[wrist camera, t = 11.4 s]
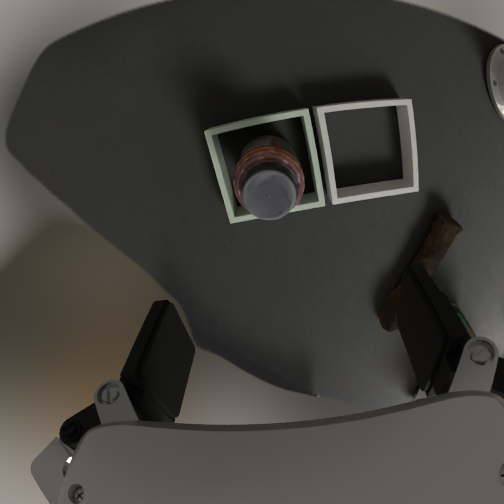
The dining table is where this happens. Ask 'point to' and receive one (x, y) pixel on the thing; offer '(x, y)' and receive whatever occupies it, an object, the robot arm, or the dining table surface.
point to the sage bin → (222, 174)
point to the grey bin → (407, 150)
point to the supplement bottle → (268, 178)
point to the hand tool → (423, 262)
